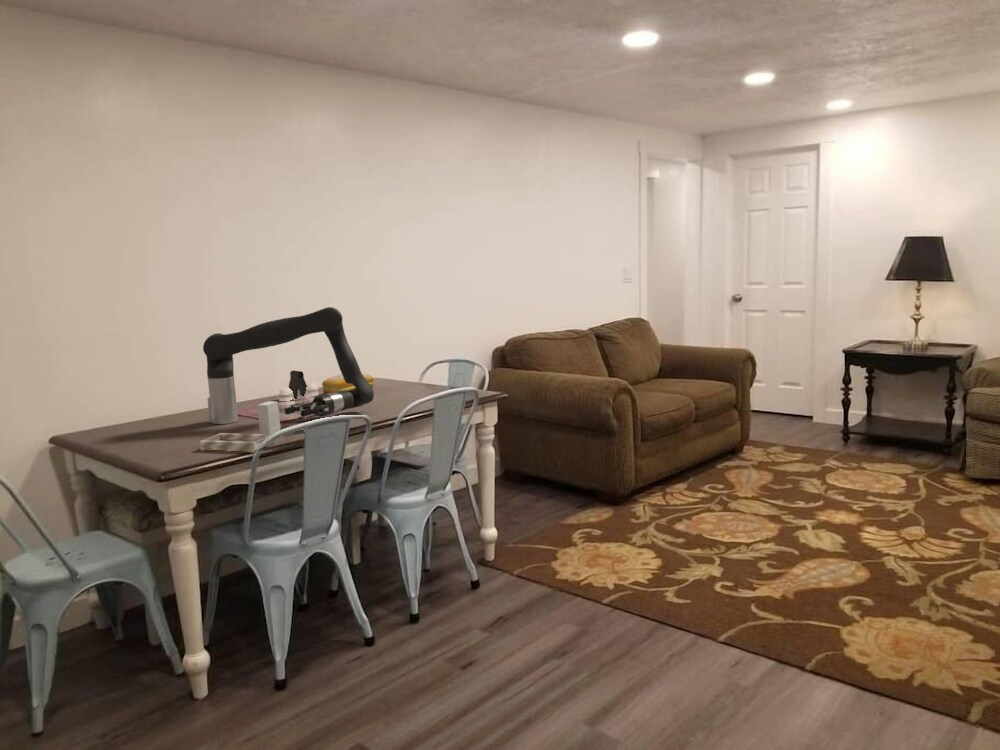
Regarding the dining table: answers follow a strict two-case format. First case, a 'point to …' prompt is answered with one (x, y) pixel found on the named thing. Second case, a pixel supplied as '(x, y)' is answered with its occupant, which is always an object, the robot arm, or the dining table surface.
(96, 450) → the dining table surface
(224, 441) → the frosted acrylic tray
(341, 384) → the bread
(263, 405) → the skincare box
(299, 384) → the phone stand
